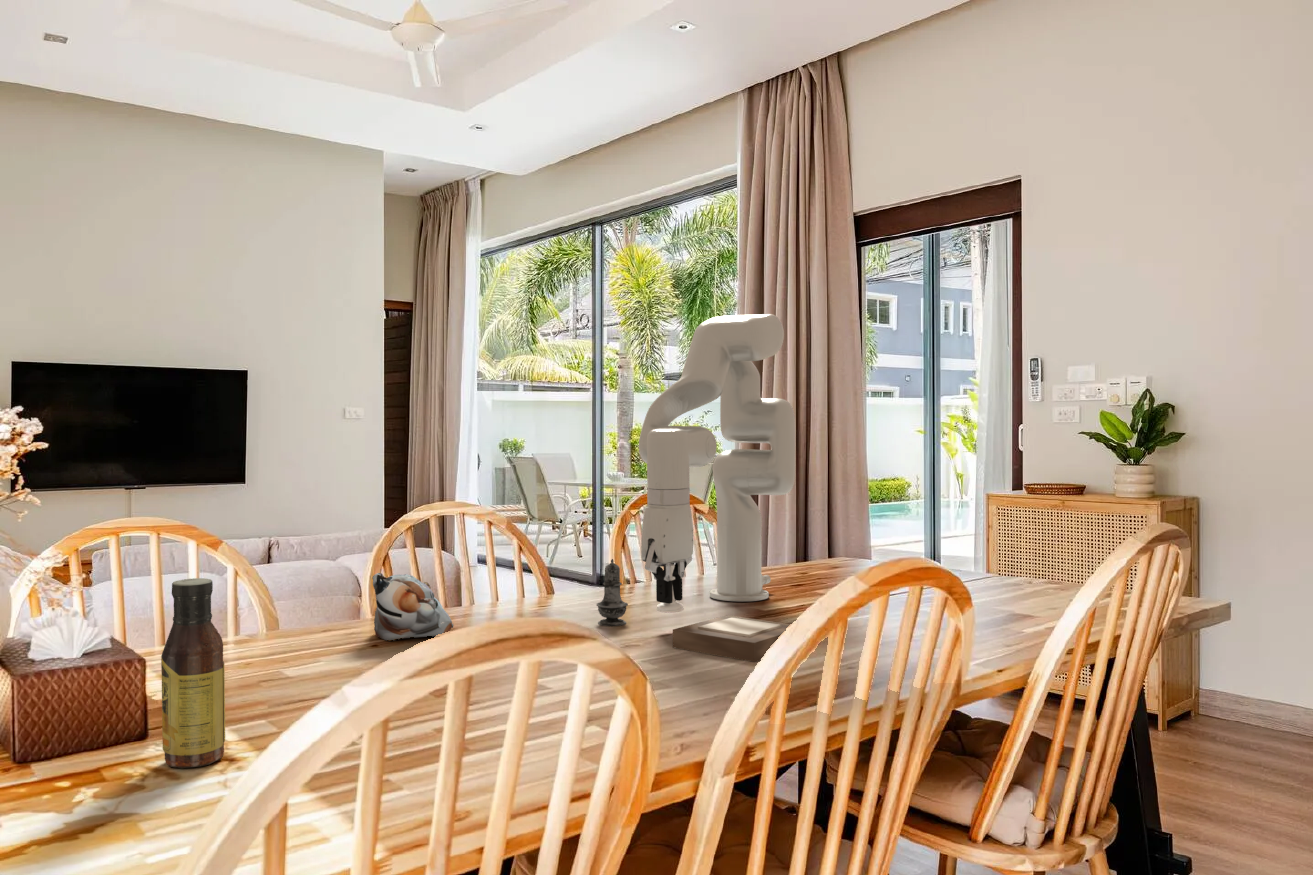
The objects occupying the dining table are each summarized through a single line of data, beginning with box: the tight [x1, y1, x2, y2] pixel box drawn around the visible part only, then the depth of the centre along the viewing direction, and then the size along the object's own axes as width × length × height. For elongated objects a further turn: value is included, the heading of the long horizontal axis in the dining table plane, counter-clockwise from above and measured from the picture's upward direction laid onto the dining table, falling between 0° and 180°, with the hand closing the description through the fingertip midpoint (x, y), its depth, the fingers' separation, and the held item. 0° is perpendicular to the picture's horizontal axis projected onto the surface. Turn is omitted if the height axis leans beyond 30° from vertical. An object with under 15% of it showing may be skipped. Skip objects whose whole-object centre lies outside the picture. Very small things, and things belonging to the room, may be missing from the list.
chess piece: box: [655, 563, 685, 614], centre depth 177 cm, size 5×5×10 cm
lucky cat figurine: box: [371, 572, 454, 641], centre depth 172 cm, size 15×12×14 cm
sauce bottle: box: [160, 577, 226, 769], centre depth 109 cm, size 6×6×20 cm
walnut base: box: [672, 614, 791, 663], centre depth 166 cm, size 16×16×3 cm
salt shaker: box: [595, 558, 629, 627], centre depth 185 cm, size 6×6×12 cm
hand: (669, 600), depth 177 cm, fingers closed on chess piece
